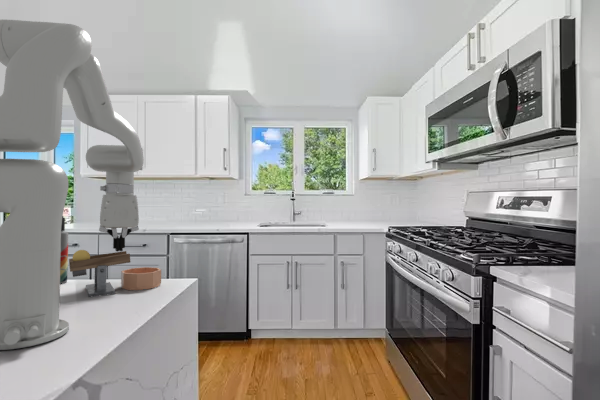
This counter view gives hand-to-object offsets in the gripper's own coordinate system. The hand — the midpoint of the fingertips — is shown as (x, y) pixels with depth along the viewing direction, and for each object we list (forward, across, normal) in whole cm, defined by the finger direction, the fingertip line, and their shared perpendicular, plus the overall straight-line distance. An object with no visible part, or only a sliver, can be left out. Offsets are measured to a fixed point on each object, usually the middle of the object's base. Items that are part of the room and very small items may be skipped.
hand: (118, 250), depth 106 cm
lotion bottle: (+10, -16, +8) cm, 20 cm away
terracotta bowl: (+10, +5, -9) cm, 14 cm away
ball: (0, -10, -9) cm, 13 cm away
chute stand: (+10, -6, -9) cm, 14 cm away
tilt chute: (+4, -5, -5) cm, 8 cm away
